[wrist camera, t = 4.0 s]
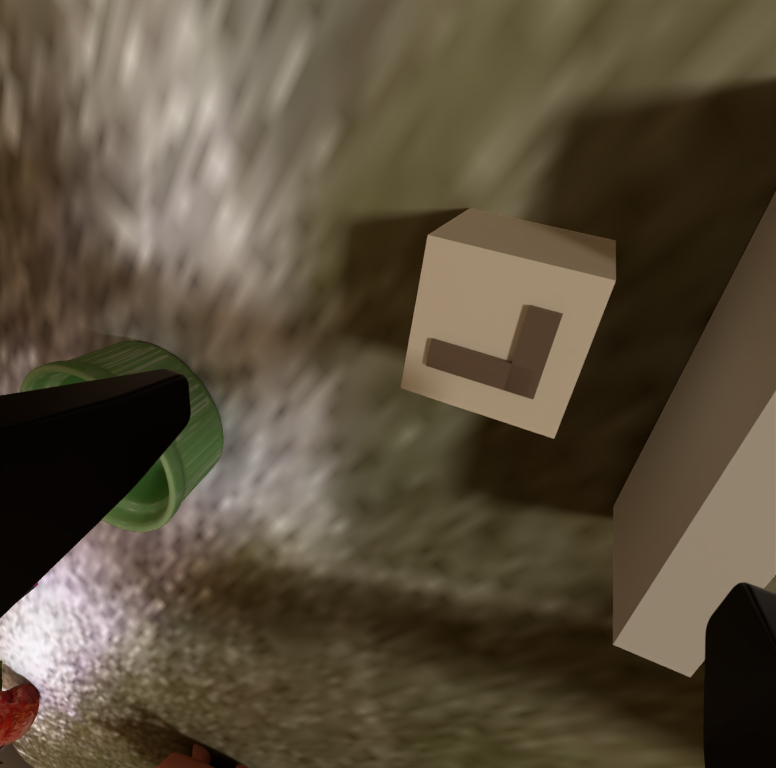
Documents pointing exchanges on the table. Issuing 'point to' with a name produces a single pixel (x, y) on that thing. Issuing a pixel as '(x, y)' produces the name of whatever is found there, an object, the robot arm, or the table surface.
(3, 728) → the red apple
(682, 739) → the table surface
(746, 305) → the grey screen
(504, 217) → the letter block
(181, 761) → the pink rounded piece
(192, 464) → the ramekin
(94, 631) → the table surface
